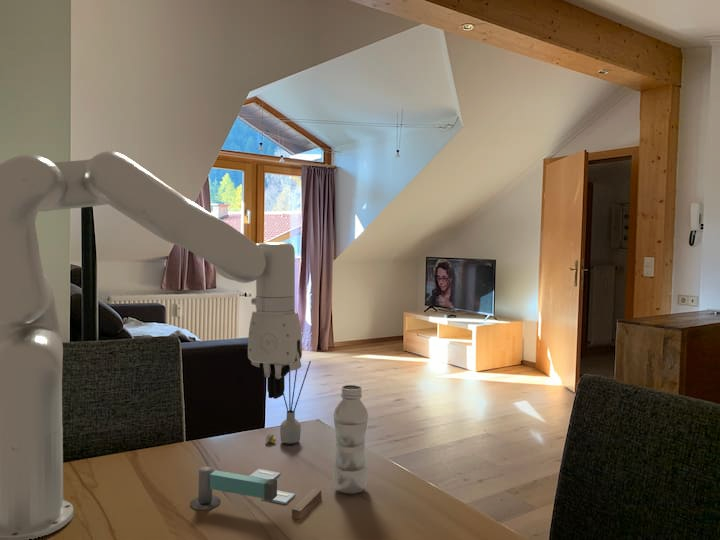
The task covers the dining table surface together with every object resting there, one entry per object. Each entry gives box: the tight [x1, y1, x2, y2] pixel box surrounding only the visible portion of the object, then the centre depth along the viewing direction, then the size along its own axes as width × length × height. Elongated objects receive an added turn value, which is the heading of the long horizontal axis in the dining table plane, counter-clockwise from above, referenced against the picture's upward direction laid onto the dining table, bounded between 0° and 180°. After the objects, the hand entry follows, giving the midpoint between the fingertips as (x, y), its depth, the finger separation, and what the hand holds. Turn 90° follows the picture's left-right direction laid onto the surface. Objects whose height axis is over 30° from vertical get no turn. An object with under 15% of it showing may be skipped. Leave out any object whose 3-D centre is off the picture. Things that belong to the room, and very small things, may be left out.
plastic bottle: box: [332, 384, 369, 495], centre depth 104 cm, size 6×7×20 cm
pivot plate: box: [190, 495, 221, 511], centre depth 98 cm, size 5×5×1 cm
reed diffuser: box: [265, 360, 311, 444], centre depth 127 cm, size 10×7×20 cm
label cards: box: [249, 468, 296, 505], centre depth 106 cm, size 12×11×1 cm
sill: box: [291, 488, 322, 520], centre depth 98 cm, size 2×8×2 cm, turn 159°
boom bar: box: [197, 466, 278, 504], centre depth 96 cm, size 15×2×6 cm, turn 72°
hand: (275, 396), depth 109 cm, fingers closed
